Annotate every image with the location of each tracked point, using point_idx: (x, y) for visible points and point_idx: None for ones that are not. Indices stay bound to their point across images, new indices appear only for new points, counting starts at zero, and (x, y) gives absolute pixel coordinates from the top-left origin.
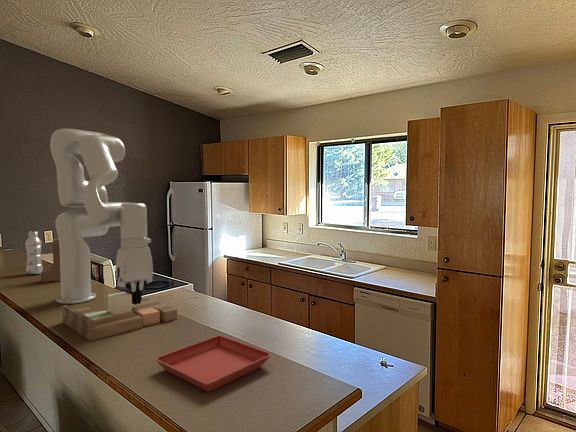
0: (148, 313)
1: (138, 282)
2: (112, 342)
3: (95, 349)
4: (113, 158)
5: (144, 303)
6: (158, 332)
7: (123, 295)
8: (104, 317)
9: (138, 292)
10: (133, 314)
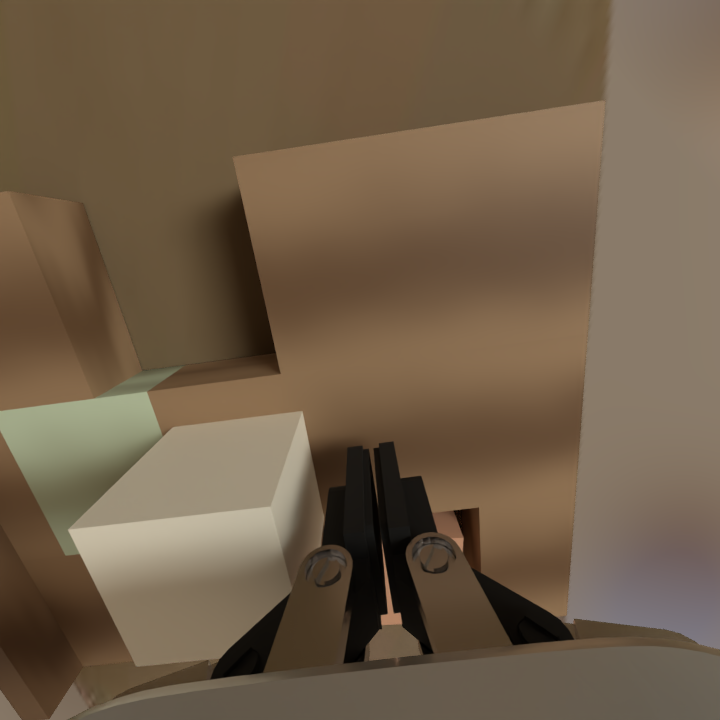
0: (387, 623)
1: (466, 645)
2: (189, 662)
3: (125, 687)
4: None
5: (476, 376)
6: (378, 659)
7: (228, 635)
8: None
9: (396, 609)
10: None
